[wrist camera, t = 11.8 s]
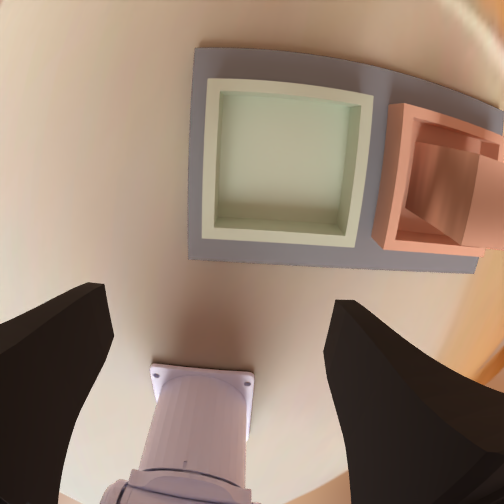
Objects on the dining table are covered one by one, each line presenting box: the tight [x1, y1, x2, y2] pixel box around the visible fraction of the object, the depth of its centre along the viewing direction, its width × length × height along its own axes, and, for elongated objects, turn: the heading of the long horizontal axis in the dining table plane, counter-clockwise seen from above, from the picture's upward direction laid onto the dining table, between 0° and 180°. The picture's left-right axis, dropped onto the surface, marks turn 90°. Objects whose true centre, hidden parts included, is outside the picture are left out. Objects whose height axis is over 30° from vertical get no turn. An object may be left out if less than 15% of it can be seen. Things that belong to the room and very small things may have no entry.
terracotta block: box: [405, 142, 504, 251], centre depth 13 cm, size 4×4×6 cm
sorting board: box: [188, 48, 504, 274], centre depth 15 cm, size 12×20×3 cm, turn 86°
